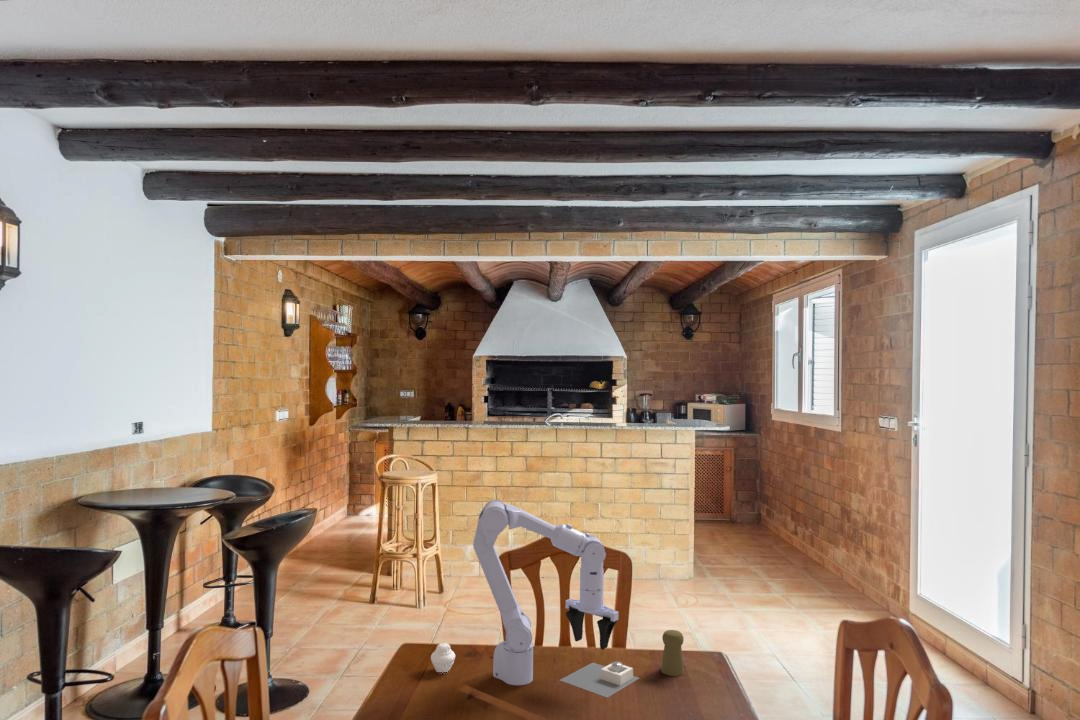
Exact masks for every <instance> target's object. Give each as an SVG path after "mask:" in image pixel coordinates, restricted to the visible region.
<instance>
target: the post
mask: <svg viewBox="0 0 1080 720" xmlns="http://www.w3.org/2000/svg"><path fill="white" fill-rule="evenodd" d="M611 663H612V671H614V672H617V673H621V672H622V666H623V665H624V664H623V662H621V661H612V662H611Z"/></svg>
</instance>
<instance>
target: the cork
mask: <svg viewBox="0 0 1080 720" xmlns="http://www.w3.org/2000/svg"><path fill="white" fill-rule="evenodd" d="M684 640H685V639H684V635H683V634H682V632H681V631H679V630H677V629H676V630H675V629H669V630H668V629H667V630H665V631H664V632H663V634H662V642H663V644H664V645H663V646H664V648H663V652H662V653H663V655H662V659H661V660H662V661H661V668H660V671H661V673H662V674H664V675H667V676H671V677H681V676H683V675H684V674H685V666H684V665H685V664H684V657H683V650H682V646H683V644H684Z"/></svg>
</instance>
